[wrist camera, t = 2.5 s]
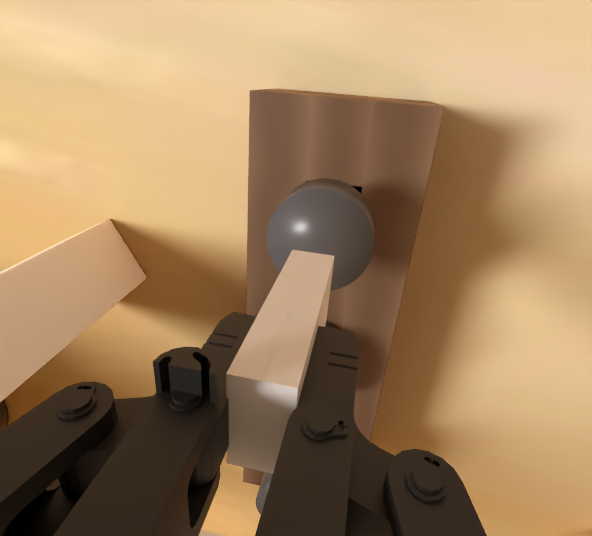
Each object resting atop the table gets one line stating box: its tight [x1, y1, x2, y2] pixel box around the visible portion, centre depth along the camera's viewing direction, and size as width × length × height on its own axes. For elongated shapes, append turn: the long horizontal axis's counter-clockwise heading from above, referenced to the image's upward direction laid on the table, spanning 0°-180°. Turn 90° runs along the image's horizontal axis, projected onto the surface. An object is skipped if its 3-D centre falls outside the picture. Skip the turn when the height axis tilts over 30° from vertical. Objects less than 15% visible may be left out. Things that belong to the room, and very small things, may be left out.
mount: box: [243, 89, 444, 485], centre depth 30 cm, size 10×32×6 cm, turn 176°
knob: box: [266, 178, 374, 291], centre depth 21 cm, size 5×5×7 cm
